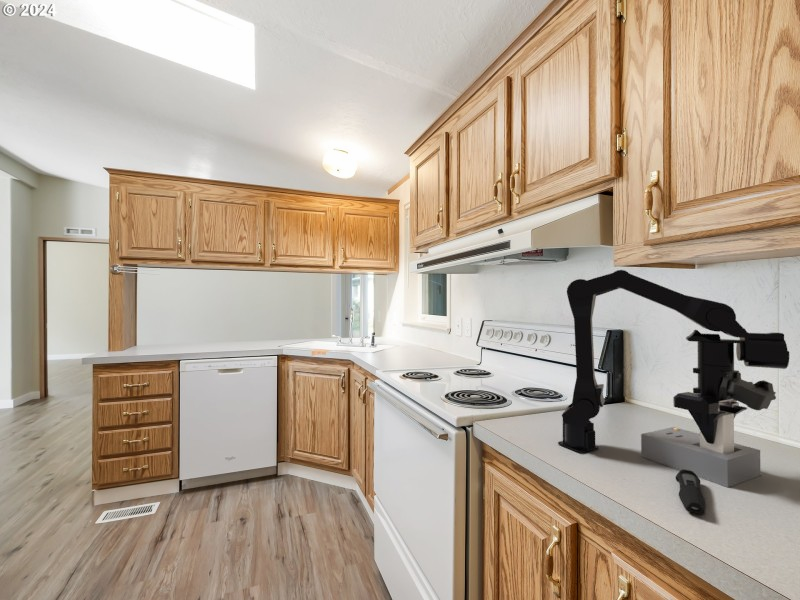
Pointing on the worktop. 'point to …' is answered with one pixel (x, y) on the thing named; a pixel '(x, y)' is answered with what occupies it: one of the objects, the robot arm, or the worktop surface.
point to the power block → (700, 456)
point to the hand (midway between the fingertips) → (716, 441)
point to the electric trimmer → (690, 491)
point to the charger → (722, 435)
